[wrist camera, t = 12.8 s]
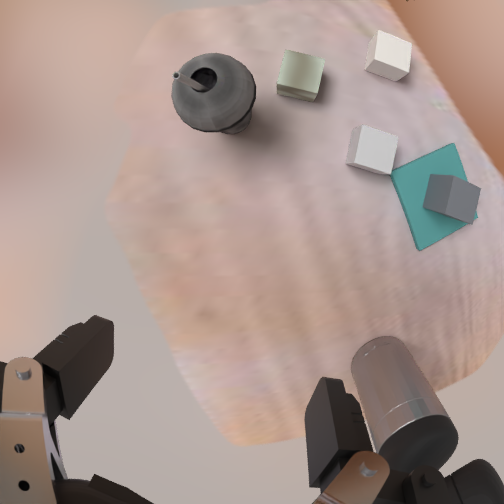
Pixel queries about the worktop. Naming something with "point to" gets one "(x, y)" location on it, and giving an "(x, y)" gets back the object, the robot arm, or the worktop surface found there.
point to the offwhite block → (388, 56)
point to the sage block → (300, 75)
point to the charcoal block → (452, 197)
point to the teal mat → (414, 189)
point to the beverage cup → (214, 93)
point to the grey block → (372, 150)
